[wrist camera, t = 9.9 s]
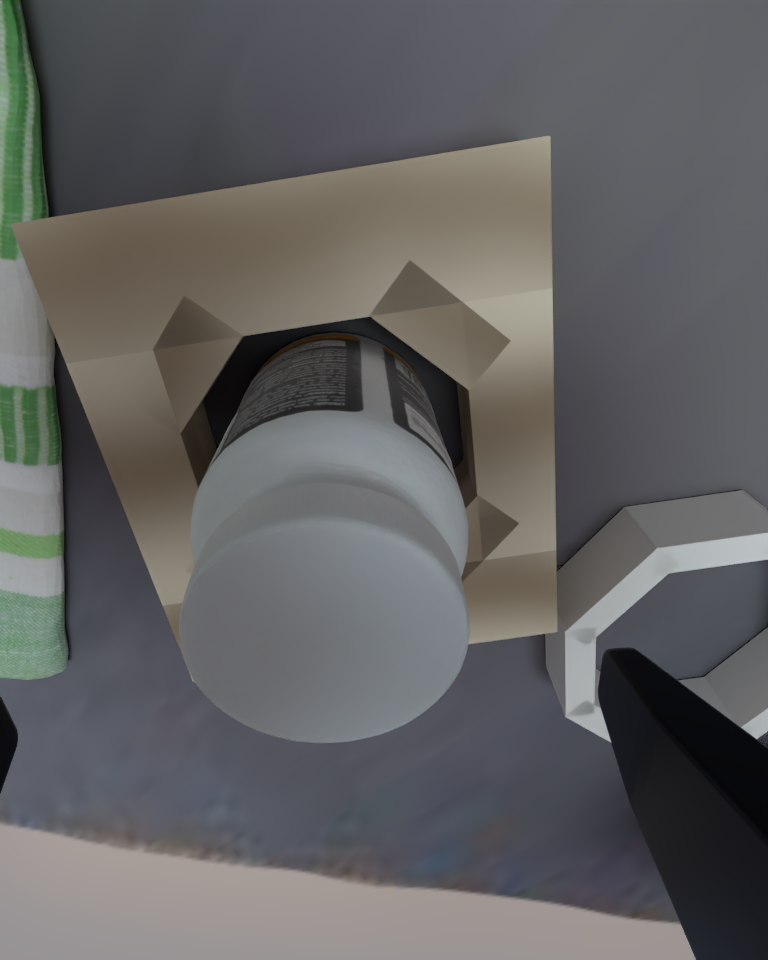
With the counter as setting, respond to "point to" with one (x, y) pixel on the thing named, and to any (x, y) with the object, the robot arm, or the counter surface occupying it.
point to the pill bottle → (328, 550)
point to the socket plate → (318, 300)
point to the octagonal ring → (638, 568)
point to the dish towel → (26, 390)
